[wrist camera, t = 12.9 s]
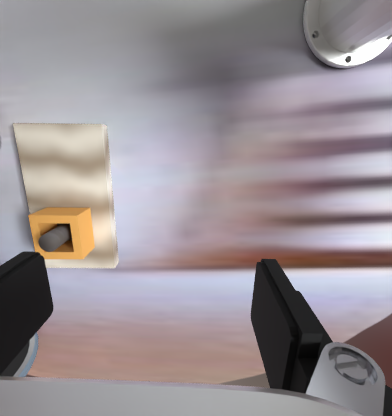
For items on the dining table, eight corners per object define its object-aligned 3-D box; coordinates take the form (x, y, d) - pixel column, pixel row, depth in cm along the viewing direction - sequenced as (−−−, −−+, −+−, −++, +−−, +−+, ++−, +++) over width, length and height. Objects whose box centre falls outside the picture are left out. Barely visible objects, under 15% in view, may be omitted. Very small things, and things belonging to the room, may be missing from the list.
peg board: (23, 124, 33) (-29, 118, 25) (106, 125, 33) (80, 119, 26) (47, 261, 39) (11, 290, 31) (118, 262, 39) (100, 290, 31)
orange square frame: (46, 207, 34) (28, 215, 30) (90, 207, 34) (77, 215, 30) (53, 246, 36) (36, 259, 32) (94, 247, 36) (82, 259, 32)
